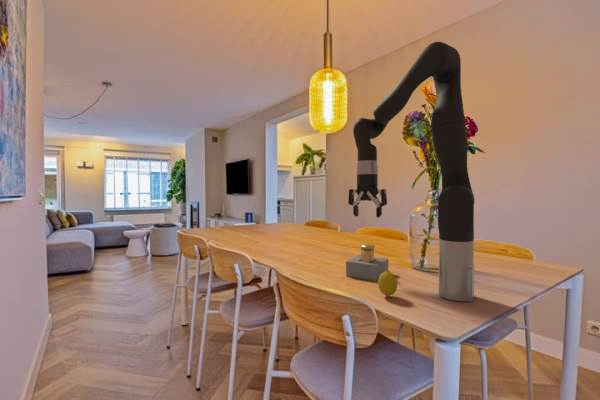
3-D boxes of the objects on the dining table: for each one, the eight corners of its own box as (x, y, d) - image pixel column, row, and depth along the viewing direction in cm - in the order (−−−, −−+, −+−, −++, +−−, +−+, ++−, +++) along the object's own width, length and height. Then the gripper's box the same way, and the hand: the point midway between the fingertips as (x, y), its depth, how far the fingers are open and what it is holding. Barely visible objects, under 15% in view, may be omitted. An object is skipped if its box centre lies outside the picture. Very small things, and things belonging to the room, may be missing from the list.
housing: (388, 272, 119) (388, 258, 118) (377, 281, 109) (377, 265, 109) (359, 268, 125) (359, 255, 125) (346, 275, 116) (345, 261, 115)
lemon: (374, 295, 95) (374, 269, 95) (389, 292, 97) (388, 267, 97) (386, 301, 90) (386, 274, 90) (401, 298, 92) (401, 271, 92)
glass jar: (376, 273, 118) (376, 245, 117) (371, 277, 113) (371, 247, 113) (363, 271, 121) (363, 243, 120) (357, 275, 116) (357, 246, 116)
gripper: (389, 173, 114) (389, 216, 115) (353, 174, 122) (353, 215, 123) (382, 172, 108) (382, 218, 109) (345, 173, 116) (345, 216, 117)
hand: (367, 216), depth 116 cm, fingers open, 8 cm apart
